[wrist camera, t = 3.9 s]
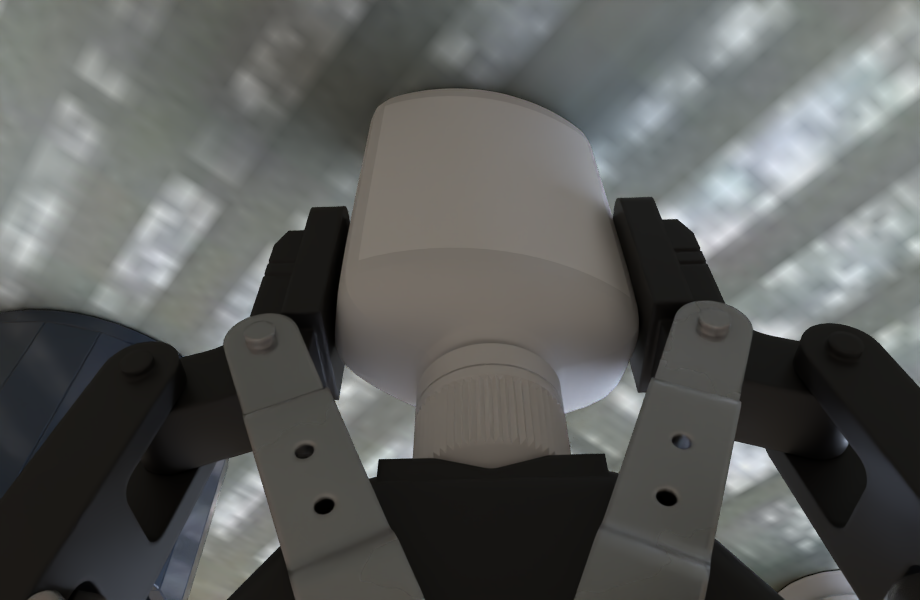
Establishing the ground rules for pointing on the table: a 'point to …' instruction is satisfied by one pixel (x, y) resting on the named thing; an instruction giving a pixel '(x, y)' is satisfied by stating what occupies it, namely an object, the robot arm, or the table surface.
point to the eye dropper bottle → (483, 275)
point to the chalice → (820, 588)
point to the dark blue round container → (54, 392)
